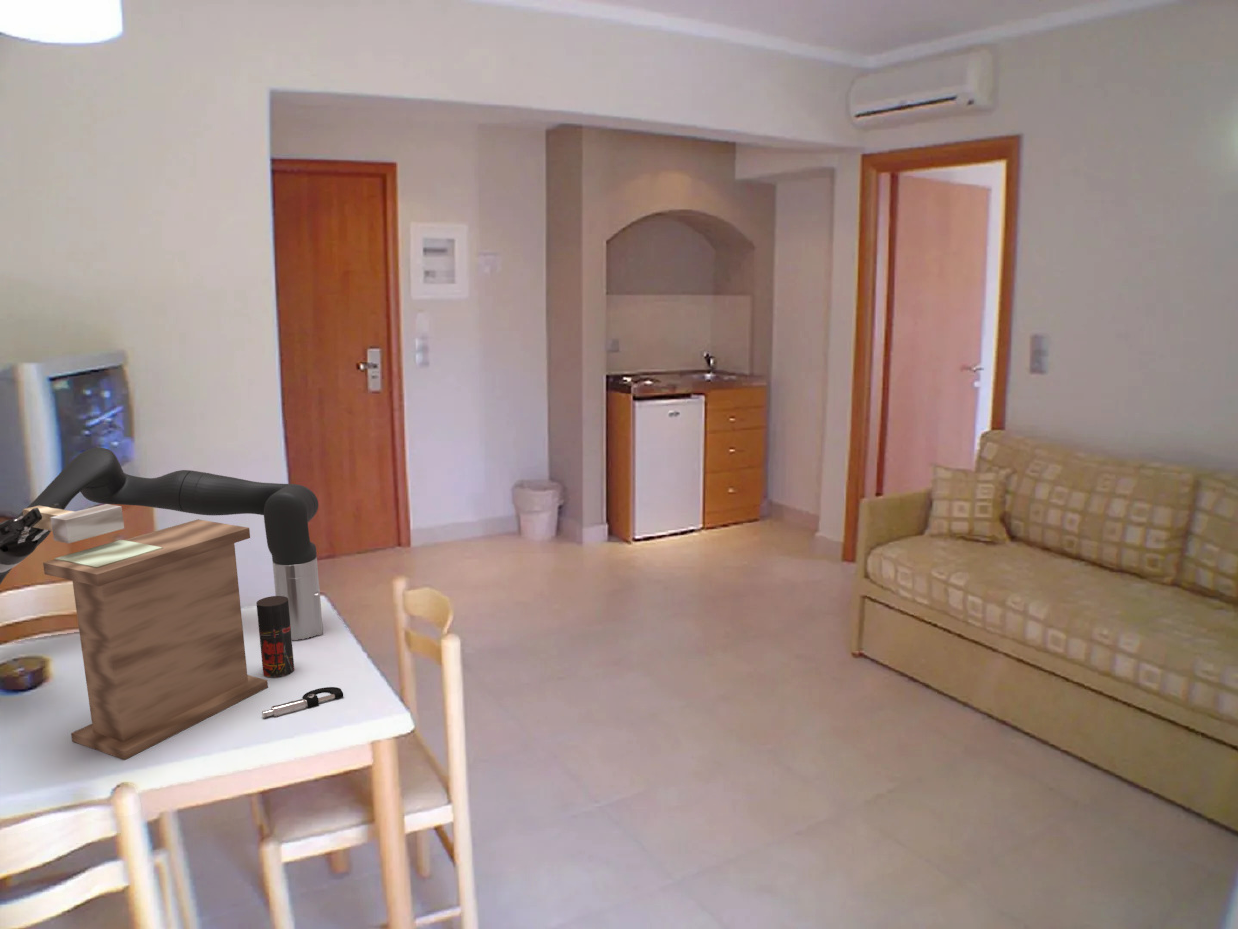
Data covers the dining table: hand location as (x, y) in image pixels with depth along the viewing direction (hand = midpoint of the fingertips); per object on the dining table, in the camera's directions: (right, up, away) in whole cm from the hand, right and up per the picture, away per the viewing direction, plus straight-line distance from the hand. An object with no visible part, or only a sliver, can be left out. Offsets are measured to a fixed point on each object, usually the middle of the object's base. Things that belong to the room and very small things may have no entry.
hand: (48, 510), depth 161 cm
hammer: (+4, -3, -1) cm, 5 cm away
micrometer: (+41, -37, +10) cm, 56 cm away
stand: (+19, -37, +6) cm, 42 cm away
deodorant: (+32, -34, +23) cm, 52 cm away
